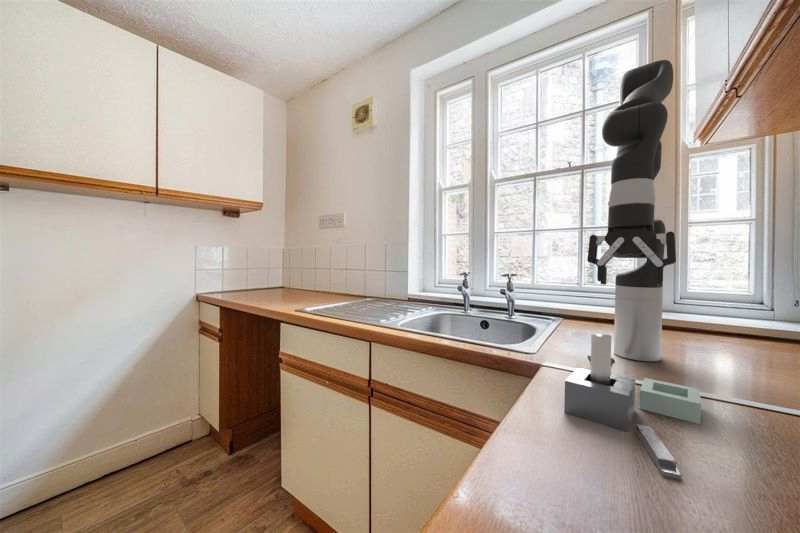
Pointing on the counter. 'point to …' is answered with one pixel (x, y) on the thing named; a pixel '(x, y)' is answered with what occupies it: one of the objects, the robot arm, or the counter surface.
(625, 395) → the socket
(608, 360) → the peg
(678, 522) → the counter surface
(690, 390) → the box
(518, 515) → the counter surface
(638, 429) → the bar
